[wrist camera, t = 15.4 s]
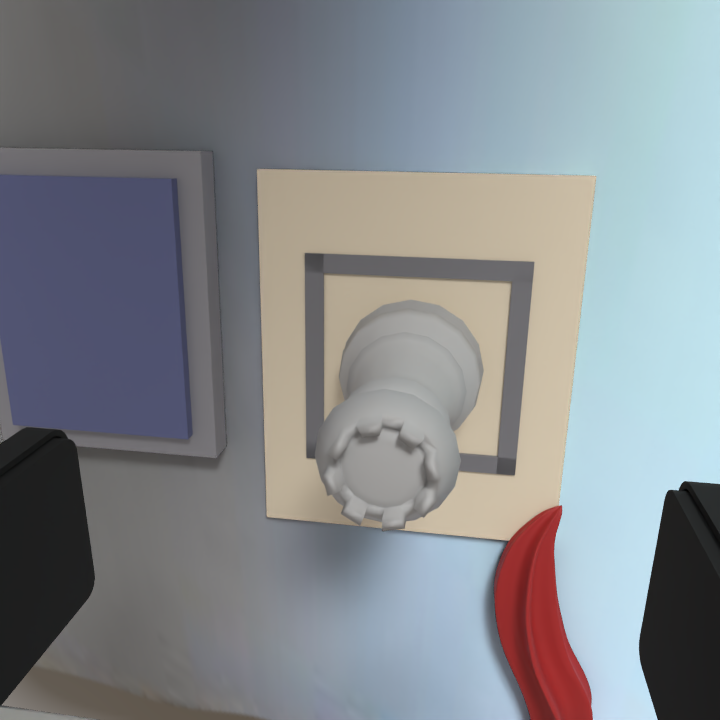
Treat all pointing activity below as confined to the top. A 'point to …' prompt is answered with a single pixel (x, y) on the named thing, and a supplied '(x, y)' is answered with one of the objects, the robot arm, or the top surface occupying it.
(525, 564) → the cayenne pepper
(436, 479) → the rook chess piece
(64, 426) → the ink pad
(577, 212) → the print card
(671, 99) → the top surface
